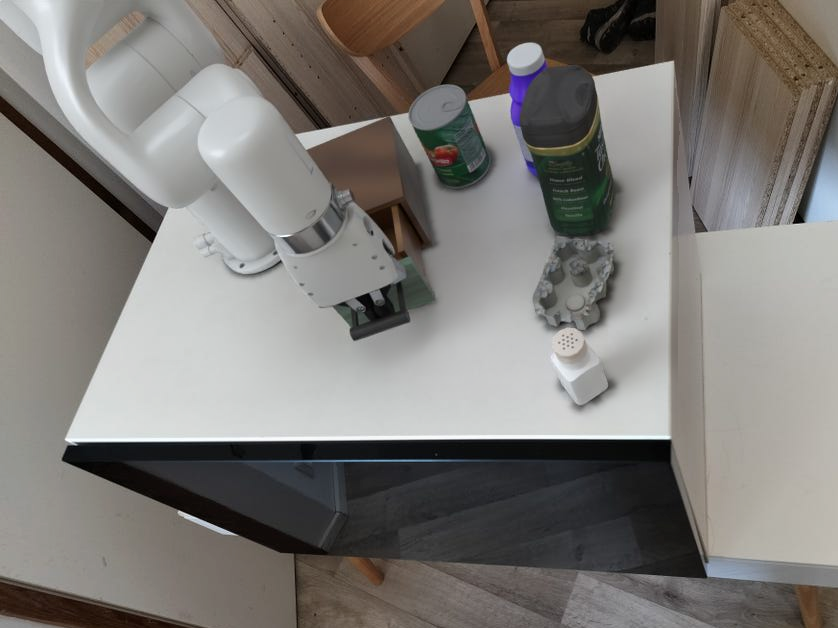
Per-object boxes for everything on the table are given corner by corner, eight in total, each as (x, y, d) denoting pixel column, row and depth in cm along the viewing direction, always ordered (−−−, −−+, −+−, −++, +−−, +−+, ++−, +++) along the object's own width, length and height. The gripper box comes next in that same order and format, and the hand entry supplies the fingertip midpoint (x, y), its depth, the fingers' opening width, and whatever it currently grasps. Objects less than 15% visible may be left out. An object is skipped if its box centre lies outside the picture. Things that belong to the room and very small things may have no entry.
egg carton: (595, 335, 75) (589, 316, 72) (533, 324, 79) (524, 305, 75) (622, 258, 79) (617, 236, 76) (562, 250, 82) (555, 229, 79)
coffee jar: (610, 239, 81) (582, 120, 66) (547, 239, 84) (506, 125, 69) (622, 178, 85) (598, 52, 70) (561, 180, 88) (525, 60, 73)
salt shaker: (560, 383, 74) (539, 339, 66) (590, 362, 74) (573, 316, 66) (580, 409, 72) (561, 367, 64) (611, 388, 72) (596, 343, 64)
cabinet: (432, 245, 90) (403, 196, 82) (346, 276, 92) (310, 231, 84) (417, 166, 98) (389, 115, 90) (338, 197, 100) (305, 149, 92)
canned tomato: (432, 190, 95) (400, 131, 86) (445, 148, 98) (416, 87, 89) (484, 187, 92) (457, 126, 83) (496, 145, 95) (472, 81, 86)
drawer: (443, 338, 81) (418, 302, 74) (356, 368, 82) (325, 335, 76) (420, 218, 92) (397, 177, 85) (344, 246, 93) (316, 209, 87)
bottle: (587, 148, 90) (559, 33, 75) (578, 181, 87) (548, 69, 73) (535, 150, 92) (499, 39, 78) (525, 181, 90) (486, 74, 76)
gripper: (372, 163, 66) (439, 273, 81) (239, 217, 69) (328, 314, 84) (380, 217, 62) (449, 322, 77) (238, 272, 65) (331, 363, 80)
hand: (385, 317), depth 81 cm, fingers closed
